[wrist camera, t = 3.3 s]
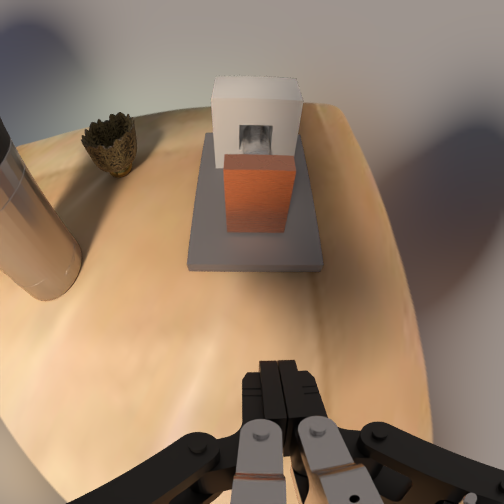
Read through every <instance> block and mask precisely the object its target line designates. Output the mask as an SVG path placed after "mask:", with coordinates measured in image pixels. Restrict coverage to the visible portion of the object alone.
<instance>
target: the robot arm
mask: <svg viewBox="0 0 504 504" xmlns="http://www.w3.org/2000/svg"><path fill="white" fill-rule="evenodd" d="M81 261H82V253H81V249H80V247H79V245H78V243H77V241H76V240H75V239H74V237H73V236H72V235H71V233H70V232H69V231H68V229H67V228H66V226H65V225H64V223H63V222H62V221H61V219H60V218H59V216H58V215H57V213H56V212H55V211H54V209H53V208H52V206H51V205H50V203H49V202H48V200H47V199H46V197H45V196H44V194H43V192H42V191H41V189H40V188H39V186H38V185H37V183H36V181H35V180H34V178H33V177H32V175H31V173H30V172H29V170H28V168H27V167H26V165H25V163H24V161H23V160H22V158H21V156H20V155H19V153H18V151H17V149H16V147H15V146H14V144H13V142H12V140H11V138H10V136H9V134H8V132H7V131H6V128H5V127H4V125H3V122H2V120H1V118H0V270H2V271H3V272H4V273H5V274H6V275H7V276H8V277H10V278H11V279H12V280H13V281H14V282H15V283H17V284H18V285H19V286H20V287H21V288H23V289H24V290H25V291H26V292H28V293H29V294H30V295H31V296H33V297H34V298H36V299H38V300H41V301H48V300H53V299H55V298H58V297H59V296H61V295H62V294H64V293H65V292H66V291H67V290H68V289H69V288H70V286H71V285H72V284H73V283H74V281H75V279H76V277H77V275H78V273H79V270H80V267H81ZM286 456H290V457H291V468H290V473H291V477H292V480H293V484H294V488H295V492H296V496H297V499H298V503H299V504H504V471H503V470H500V469H497V468H494V467H491V466H488V465H485V464H483V463H480V462H477V461H474V460H471V459H469V458H466V457H464V456H461V455H458V454H456V453H453V452H451V451H448V450H446V449H443V448H441V447H439V446H436V445H434V444H432V443H429V442H427V441H425V440H422V439H420V438H418V437H416V436H413V435H411V434H409V433H407V432H405V431H402V430H400V429H398V428H396V427H394V426H392V425H390V424H387V423H384V422H372V423H369V424H367V425H365V426H364V427H363V428H362V430H361V431H357V430H347V429H342V428H339V427H337V425H336V424H335V423H334V422H333V421H332V420H331V419H329V418H328V417H327V414H326V411H325V408H324V405H323V402H322V399H321V396H320V394H319V390H318V387H317V384H316V381H315V378H314V377H313V376H312V375H311V374H310V373H309V372H308V371H298V369H297V366H296V362H295V360H278V361H259V372H247V374H246V375H245V377H244V378H243V380H242V426H241V428H240V429H239V430H238V431H237V432H236V433H235V434H233V435H231V436H229V437H225V438H221V439H216V438H214V437H213V436H212V435H210V434H207V433H203V432H193V433H189V434H186V435H184V436H183V437H181V438H180V439H178V440H177V441H175V442H174V443H172V444H171V445H169V446H168V447H166V448H165V449H163V450H162V451H160V452H159V453H157V454H155V455H154V456H152V457H151V458H149V459H147V460H146V461H144V462H143V463H141V464H139V465H138V466H136V467H134V468H133V469H131V470H129V471H127V472H126V473H124V474H122V475H121V476H119V477H117V478H115V479H113V480H112V481H110V482H108V483H106V484H104V485H102V486H101V487H99V488H97V489H95V490H93V491H91V492H89V493H87V494H85V495H83V496H81V497H79V498H77V499H75V500H73V501H71V502H69V503H66V504H210V503H211V502H212V501H214V500H215V499H216V498H217V497H218V496H219V495H220V494H221V493H222V492H223V491H226V490H230V489H232V494H231V502H230V504H286V480H285V476H284V475H283V457H286ZM384 465H385V466H384ZM386 466H387V467H386ZM398 472H399V473H398ZM400 473H401V474H400Z"/></svg>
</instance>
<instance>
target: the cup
mask: <svg viewBox="0 0 504 504" xmlns="http://www.w3.org/2000/svg"><path fill="white" fill-rule="evenodd" d="M109 119H110V120H109V121H108V120H106V121H105V122H101V120H100V119H98V121H97V123H95V122H92V123H91V124H90V127H89V131H88V130H87V129H85V135H86V136H84V135H82V139H81V141H82V143H83V145H84V147H85V149H86V150H87V152H88V154H89V155H90V157H91V158H92V160H93V162H94V163H95V164H96V165H97V166H98V168H100V169H101V170H103V171H105V172H109V173H110V174H111V175H112V176H113V177H116V178H119V177H123V176H125V175H127V174H128V173H129V172H130V171H131V169H132V161H133V160H134V158H135V156H136V152H137V141H136V133H135V125H134V120H133V117H132V118H131V117H130V116H129V114H127V117H126V116H125V115H124V114H123V113H121V112H119V113H118V114H117V115H114V114H110V116H109Z"/></svg>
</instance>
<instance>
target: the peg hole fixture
mask: <svg viewBox="0 0 504 504" xmlns="http://www.w3.org/2000/svg"><path fill="white" fill-rule="evenodd" d="M302 106H303V98H302V95H301V92H300V89H299V85H298V82H297V79H296V78H284V77H265V76H216V78H215V82H214V87H213V91H212V96H211V107H212V123H213V133H206V134H205V140H204V146H203V151H202V157H201V164H200V170H199V176H198V183H197V189H196V196H195V203H194V210H193V218H192V226H191V234H190V242H189V250H188V259H187V266H188V269H189V271H221V272H320V271H321V269H322V267H323V265H324V264H323V257H322V250H321V244H320V237H319V231H318V225H317V219H316V213H315V207H314V202H313V196H312V191H311V185H310V180H309V175H308V170H307V165H306V160H305V155H304V150H303V146H302V141H301V136H300V135H298V131H299V125H300V119H301V113H302ZM247 125H264V126H265V127H266V128H267V130H268V139H269V151H270V155H289V156H294V161H295V167H296V175H295V180H294V185H293V190H292V195H291V200H290V205H289V210H288V215H287V220H286V225H285V230H284V233H252V232H227V223H226V207H225V191H224V173H223V167H224V155H225V154H242V144H243V130H244V128H245V127H246V126H247Z"/></svg>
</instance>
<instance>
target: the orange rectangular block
mask: <svg viewBox="0 0 504 504" xmlns="http://www.w3.org/2000/svg"><path fill="white" fill-rule="evenodd" d="M223 173H224V191H225V207H226V223H227V232H252V233H284V230H285V225H286V220H287V215H288V210H289V205H290V200H291V195H292V190H293V185H294V180H295V175H296V167H295V161H294V156H289V155H270V151H269V139H268V130H267V128H266V127H265V126H264V125H247V126H246V127H245V128H244V130H243V144H242V154H225V155H224V167H223Z"/></svg>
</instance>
